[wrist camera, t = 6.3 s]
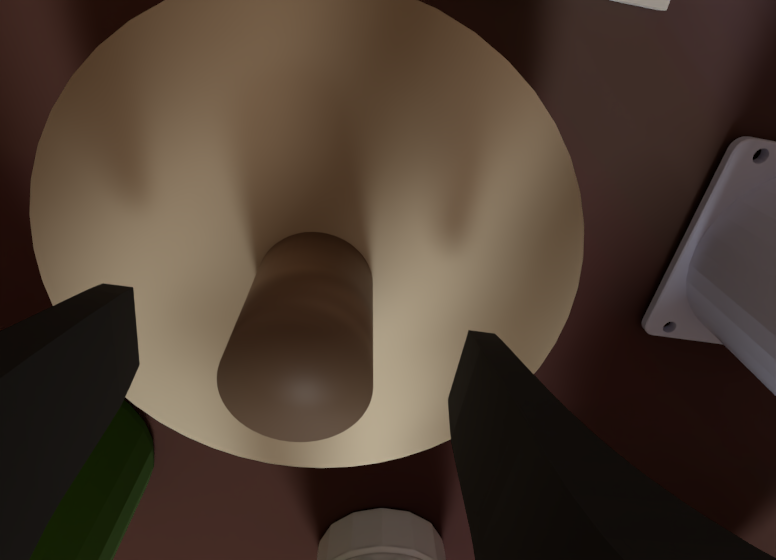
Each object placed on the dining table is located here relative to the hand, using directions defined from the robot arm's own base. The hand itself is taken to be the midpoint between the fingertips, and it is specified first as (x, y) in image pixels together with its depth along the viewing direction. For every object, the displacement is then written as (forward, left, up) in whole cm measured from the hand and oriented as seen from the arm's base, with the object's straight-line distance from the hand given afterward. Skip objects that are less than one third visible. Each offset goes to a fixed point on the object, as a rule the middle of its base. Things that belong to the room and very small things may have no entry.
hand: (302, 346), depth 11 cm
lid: (0, 0, -3) cm, 3 cm away
